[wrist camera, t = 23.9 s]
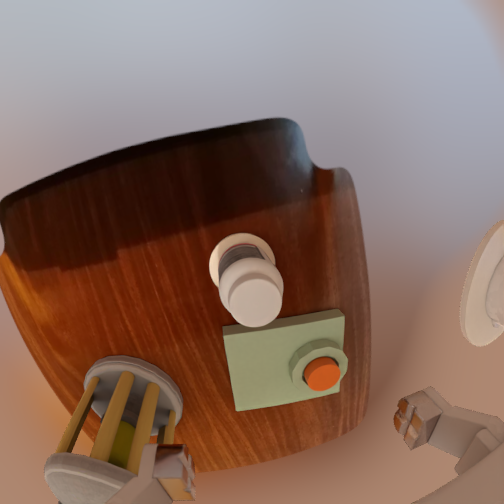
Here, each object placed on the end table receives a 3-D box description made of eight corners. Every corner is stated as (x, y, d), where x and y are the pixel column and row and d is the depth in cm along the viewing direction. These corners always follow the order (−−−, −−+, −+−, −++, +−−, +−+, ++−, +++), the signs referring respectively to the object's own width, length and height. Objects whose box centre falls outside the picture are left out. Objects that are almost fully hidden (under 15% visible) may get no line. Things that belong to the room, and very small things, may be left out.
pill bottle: (208, 275, 30) (206, 316, 21) (234, 231, 29) (243, 254, 20) (252, 298, 31) (267, 345, 22) (278, 257, 31) (305, 289, 21)
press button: (336, 353, 31) (341, 361, 29) (334, 378, 32) (339, 387, 30) (303, 360, 31) (308, 368, 29) (303, 385, 32) (307, 394, 30)
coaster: (271, 228, 30) (272, 229, 30) (276, 290, 32) (277, 293, 32) (205, 236, 30) (205, 237, 29) (213, 299, 31) (213, 301, 31)
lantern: (155, 345, 32) (106, 541, 8) (199, 421, 36) (202, 579, 11) (69, 363, 31) (-9, 502, 7) (118, 432, 35) (87, 563, 11)
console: (337, 308, 34) (351, 322, 30) (333, 382, 37) (343, 399, 33) (222, 326, 32) (223, 344, 28) (235, 400, 35) (237, 420, 31)
